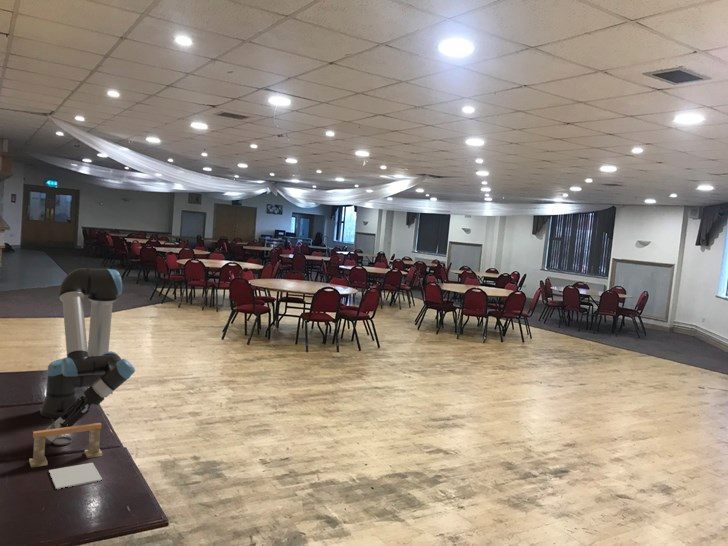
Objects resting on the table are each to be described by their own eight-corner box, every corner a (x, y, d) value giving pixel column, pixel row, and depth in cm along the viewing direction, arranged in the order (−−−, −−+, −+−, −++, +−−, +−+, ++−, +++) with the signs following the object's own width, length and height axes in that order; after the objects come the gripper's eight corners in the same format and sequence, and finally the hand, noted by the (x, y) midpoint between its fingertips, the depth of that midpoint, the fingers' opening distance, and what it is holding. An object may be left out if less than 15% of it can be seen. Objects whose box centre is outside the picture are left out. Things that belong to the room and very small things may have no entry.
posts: (31, 467, 191) (32, 440, 190) (29, 462, 195) (30, 434, 194) (102, 455, 206) (103, 430, 205) (98, 450, 210) (100, 425, 209)
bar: (33, 438, 192) (33, 433, 192) (32, 436, 193) (33, 431, 193) (101, 428, 206) (101, 424, 206) (100, 427, 207) (100, 422, 207)
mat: (48, 471, 190) (48, 470, 190) (92, 464, 199) (92, 462, 199) (56, 489, 179) (56, 488, 179) (102, 480, 188) (102, 479, 188)
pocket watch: (75, 441, 215) (77, 417, 214) (57, 449, 207) (58, 423, 206) (60, 436, 218) (61, 412, 217) (41, 444, 210) (42, 418, 209)
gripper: (107, 406, 210) (56, 451, 203) (103, 390, 227) (56, 431, 220) (92, 393, 207) (40, 439, 200) (90, 378, 223) (41, 420, 217)
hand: (48, 435), depth 210 cm, fingers closed on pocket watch, 7 cm apart
